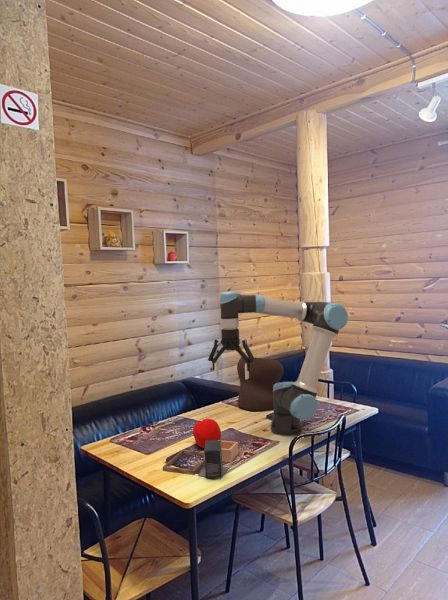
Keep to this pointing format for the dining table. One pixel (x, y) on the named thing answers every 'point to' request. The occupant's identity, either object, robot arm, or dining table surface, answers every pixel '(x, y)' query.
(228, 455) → the terracotta pot
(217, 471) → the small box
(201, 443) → the red round ball
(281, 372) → the vase
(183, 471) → the tray
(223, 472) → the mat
